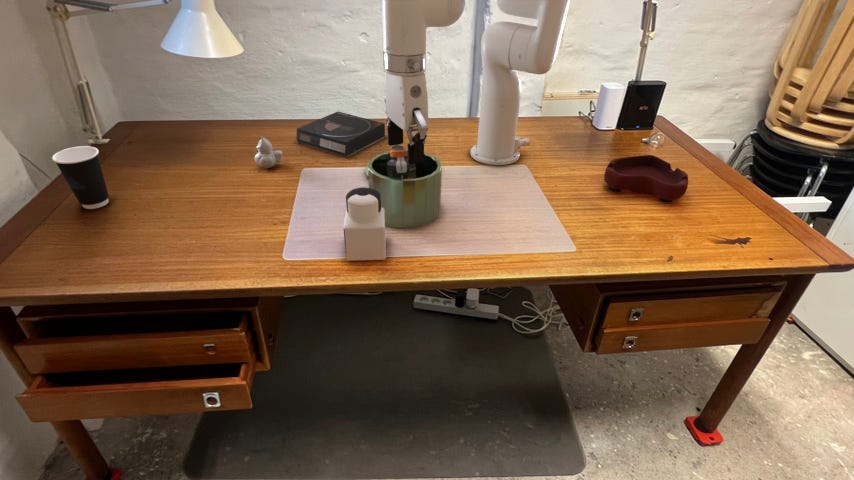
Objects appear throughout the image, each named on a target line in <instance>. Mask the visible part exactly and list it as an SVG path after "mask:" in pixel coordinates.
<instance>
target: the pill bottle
mask: <svg viewBox="0 0 854 480" xmlns="http://www.w3.org/2000/svg"><path fill="white" fill-rule="evenodd" d="M390 156H391V160H389V161H388V162H387V175H388V177H390V178H396V179H416V166H415V164H409V163H408V156H407V148H406V147H404V148H400V149H392V148H391V149H390Z"/></svg>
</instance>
